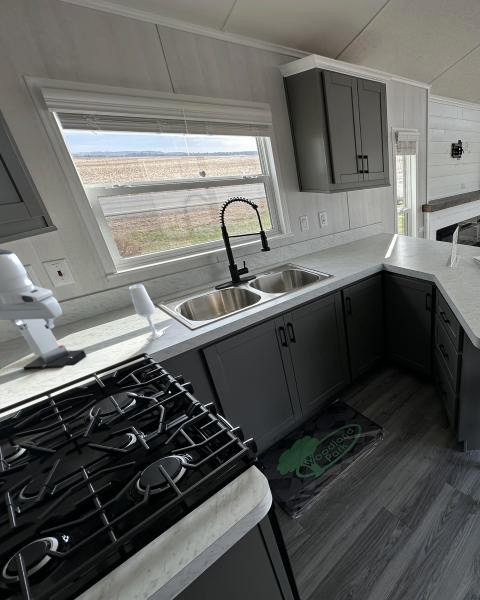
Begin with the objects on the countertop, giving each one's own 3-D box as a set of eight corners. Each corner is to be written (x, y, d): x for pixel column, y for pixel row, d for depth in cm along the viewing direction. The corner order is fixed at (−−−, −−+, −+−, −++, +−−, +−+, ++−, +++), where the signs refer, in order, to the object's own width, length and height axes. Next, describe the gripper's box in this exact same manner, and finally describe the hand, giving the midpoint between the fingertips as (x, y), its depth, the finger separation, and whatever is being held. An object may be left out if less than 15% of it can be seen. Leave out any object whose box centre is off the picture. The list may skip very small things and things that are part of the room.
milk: (34, 355, 134) (5, 307, 125) (52, 347, 140) (25, 301, 130) (44, 357, 133) (14, 309, 123) (62, 349, 138) (35, 302, 128)
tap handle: (47, 363, 123) (42, 355, 122) (44, 362, 124) (39, 354, 122) (68, 353, 129) (64, 345, 128) (66, 352, 130) (61, 344, 128)
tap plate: (25, 374, 123) (21, 367, 121) (52, 357, 133) (48, 350, 131) (63, 372, 123) (59, 365, 122) (87, 355, 133) (84, 348, 132)
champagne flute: (159, 339, 143) (139, 289, 133) (143, 340, 143) (121, 290, 132) (168, 331, 149) (149, 282, 139) (152, 332, 149) (132, 283, 138)
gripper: (-22, 299, 112) (-1, 333, 118) (39, 297, 113) (57, 332, 119) (-3, 291, 118) (17, 325, 124) (56, 290, 119) (72, 323, 124)
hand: (37, 328), depth 121 cm, fingers open, 8 cm apart
